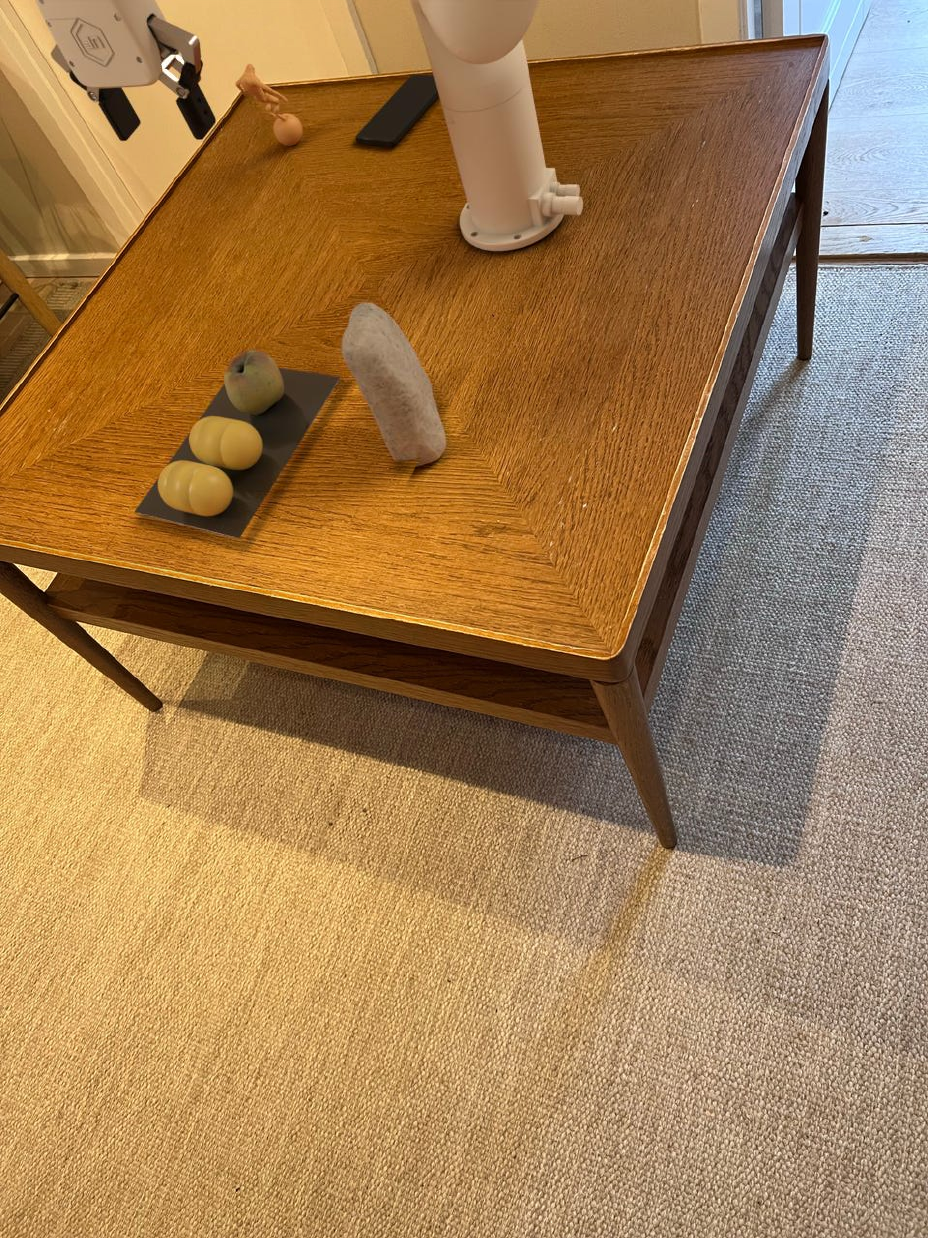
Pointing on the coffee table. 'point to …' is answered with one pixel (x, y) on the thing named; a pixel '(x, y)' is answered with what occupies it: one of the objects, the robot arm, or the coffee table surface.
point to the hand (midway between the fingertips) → (168, 131)
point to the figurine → (285, 124)
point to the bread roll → (195, 488)
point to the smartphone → (400, 112)
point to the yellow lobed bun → (225, 443)
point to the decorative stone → (393, 385)
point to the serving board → (279, 441)
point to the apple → (253, 382)
